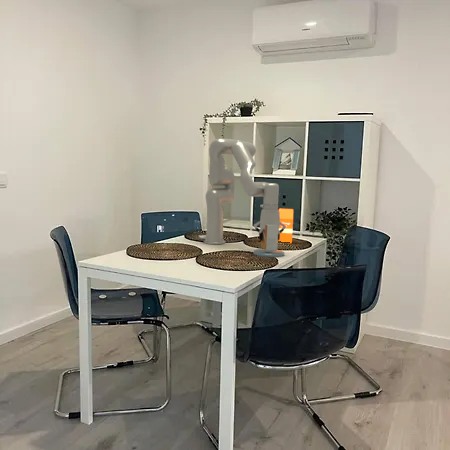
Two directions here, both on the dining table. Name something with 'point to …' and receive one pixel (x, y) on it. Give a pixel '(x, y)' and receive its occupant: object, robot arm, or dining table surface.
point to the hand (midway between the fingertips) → (269, 241)
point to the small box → (270, 237)
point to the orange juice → (286, 224)
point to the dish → (268, 253)
